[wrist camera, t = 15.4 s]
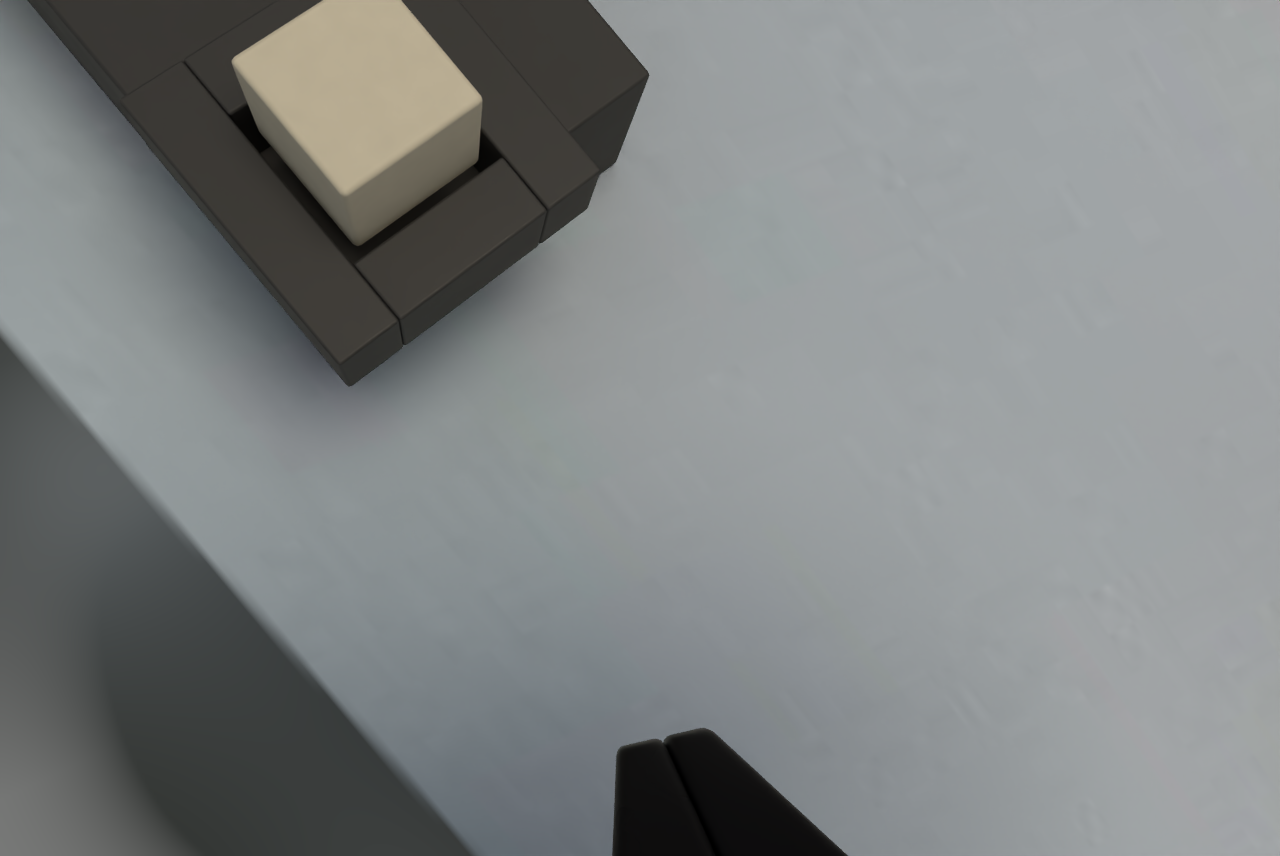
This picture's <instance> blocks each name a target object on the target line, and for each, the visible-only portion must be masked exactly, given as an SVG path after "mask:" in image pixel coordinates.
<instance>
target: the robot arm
mask: <svg viewBox="0 0 1280 856" xmlns="http://www.w3.org/2000/svg"><path fill="white" fill-rule="evenodd" d="M612 856H848V855H847V854H845V853H844V852H843V851H842V850H841V849H840V848H839V847H838V846H837V845H836V844H835V843H833V842H832V841H831V840H830V839H829V838H828V837H827V836H826V835H825V834H824V833H823V832H822V831H820V830H819V829H818V828H817V827H816V826H815V825H814V824H813V823H812V822H811V821H810V820H809V819H807V818H806V817H805V816H804V815H803V814H802V813H801V812H800V811H799V810H798V809H797V808H796V807H794V806H793V805H792V804H791V803H790V802H789V801H788V800H787V799H786V798H785V797H784V796H782V795H781V794H780V793H779V792H778V791H777V790H776V789H775V788H774V787H773V786H772V785H771V784H769V783H768V782H767V781H766V780H765V779H764V778H763V777H762V776H761V775H760V774H759V773H758V772H756V771H755V770H754V769H753V768H752V767H751V766H750V765H749V764H748V763H747V762H746V761H745V760H743V759H742V758H741V757H740V756H739V755H738V754H737V753H736V752H735V751H734V750H733V749H732V748H730V747H729V746H728V745H727V744H726V743H725V742H724V741H723V740H722V739H721V738H720V737H718V736H717V735H716V734H715V733H714V732H713V731H711V730H709V729H706V728H699V729H694V730H690V731H686V732H681V733H677V734H673V735H669V736H667V737H666V738H665V739H664V742H662V741H661V740H658V739H651V740H646V741H642V742H638V743H633V744H629V745H625V746H622V747H620V748H619V749H618V751H617V756H616V778H615V803H614V828H613V853H612Z"/></svg>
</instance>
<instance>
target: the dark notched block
mask: <svg viewBox="0 0 1280 856" xmlns="http://www.w3.org/2000/svg"><path fill="white" fill-rule="evenodd" d="M28 1H29V3H30V4H31V5H32V6H33V7H34V9H35V10H36V11H37V12H38V13H39V15H40V16H41V17H42V18H43V19H44V21H45V22H46V23H47V24H48V25H49V27H50V28H51V29H52V30H53V31H54V33H55V34H56V35H57V36H58V37H59V39H60V40H61V41H62V42H63V43H64V45H65V46H66V47H67V48H68V49H69V51H70V52H71V53H72V54H73V55H74V57H75V58H76V59H77V60H78V61H79V63H80V64H81V65H82V66H83V67H84V69H85V70H86V71H87V72H88V73H89V75H90V76H91V77H92V78H93V79H94V81H95V82H96V83H97V84H98V85H99V87H100V88H101V89H102V90H103V91H104V93H105V94H106V95H107V96H108V97H109V99H110V100H111V101H112V102H113V103H114V105H115V106H116V107H117V108H118V109H119V111H120V112H121V113H122V114H123V115H124V117H125V118H126V119H127V120H128V121H129V123H130V124H131V125H132V126H133V127H134V129H135V130H136V131H137V132H138V133H139V135H140V136H141V137H142V138H143V139H144V141H145V142H146V144H147V145H148V147H149V148H150V149H151V151H152V152H153V153H154V154H155V155H156V157H157V158H158V159H159V160H160V161H161V163H162V164H163V165H164V166H165V167H166V169H167V170H168V171H169V172H170V173H171V175H172V176H173V177H174V178H175V179H176V181H177V182H178V183H179V184H180V185H181V187H182V188H183V189H184V190H185V191H186V193H187V194H188V195H189V196H190V197H191V199H192V200H193V201H194V202H195V203H196V205H197V206H198V207H199V208H200V209H201V211H202V212H203V213H204V214H205V215H206V217H207V218H208V219H209V220H210V221H211V223H212V224H213V225H214V226H215V227H216V229H217V230H218V231H219V232H220V233H221V235H222V236H223V237H224V238H225V239H226V241H227V242H228V243H229V244H230V245H231V247H232V248H233V249H234V250H235V251H236V253H237V254H238V255H239V256H240V257H241V259H242V260H243V261H244V262H245V263H246V265H247V266H248V267H249V268H250V269H251V271H252V272H253V273H254V274H255V275H256V277H257V278H258V279H259V280H260V281H261V283H262V284H263V285H264V286H265V287H266V289H267V290H268V291H269V292H270V293H271V295H272V296H273V297H274V298H275V299H276V301H277V302H278V303H279V304H280V305H281V307H282V308H283V309H284V310H285V311H286V313H287V314H288V315H289V316H290V317H291V319H292V320H293V321H294V322H295V323H296V325H297V326H298V327H299V328H300V329H301V331H302V332H303V333H304V334H305V335H306V337H307V338H308V339H309V340H310V341H311V343H312V344H313V345H314V346H315V347H316V349H317V350H318V351H319V352H320V353H321V355H322V356H323V357H324V358H325V359H326V361H327V362H328V363H329V364H330V366H331V367H332V368H333V369H334V370H335V372H336V373H337V374H338V375H339V376H340V378H341V379H342V380H343V381H344V382H345V384H346V385H347V386H349V387H350V386H352V385H354V384H355V383H356V382H358V381H359V380H360V379H362V378H363V377H364V376H366V375H367V374H368V373H370V372H371V371H372V370H374V369H375V368H376V367H378V366H379V365H380V364H382V363H383V362H384V361H386V360H387V359H388V358H390V357H391V356H392V355H394V354H395V353H396V352H397V351H399V350H400V349H401V348H402V347H403V344H404V345H406V344H408V343H409V342H411V341H412V340H413V339H415V338H416V337H417V336H419V335H420V334H421V333H423V332H424V331H425V330H427V329H428V328H429V327H431V326H432V325H433V324H435V323H436V322H437V321H439V320H440V319H441V318H443V317H444V316H445V315H447V314H448V313H449V312H451V311H452V310H453V309H455V308H456V307H457V306H459V305H460V304H461V303H463V302H464V301H465V300H467V299H468V298H469V297H471V296H472V295H473V294H475V293H476V292H477V291H479V290H480V289H481V288H483V287H484V286H485V285H487V284H488V283H489V282H490V281H492V280H493V279H494V278H496V277H497V276H498V275H500V274H501V273H502V272H504V271H505V270H506V269H508V268H509V267H510V266H512V265H513V264H514V263H516V262H517V261H518V260H520V259H521V258H522V257H524V256H525V255H526V254H528V253H529V252H530V251H532V250H533V249H534V248H536V247H537V246H538V243H542V242H544V241H545V240H546V239H548V238H549V237H550V236H552V235H553V234H554V233H556V232H557V231H558V230H560V229H561V228H562V227H564V226H565V225H566V224H568V223H569V222H570V221H571V220H573V219H574V218H575V217H577V216H578V215H579V214H581V213H582V212H583V211H585V210H586V209H587V208H588V205H589V202H590V199H591V197H592V194H593V191H594V188H595V185H596V183H597V180H598V177H599V174H601V173H602V172H603V171H605V170H606V169H607V168H609V167H610V166H611V165H613V164H614V163H615V162H616V160H617V158H618V155H619V153H620V150H621V147H622V145H623V142H624V140H625V137H626V134H627V132H628V129H629V127H630V124H631V121H632V119H633V116H634V114H635V111H636V109H637V106H638V103H639V101H640V98H641V96H642V93H643V90H644V88H645V85H646V83H647V80H648V77H649V73H648V71H647V70H646V69H645V68H644V67H643V65H642V64H641V63H640V62H639V61H638V59H637V58H636V57H635V56H634V55H633V53H632V52H631V51H630V50H629V49H628V47H627V46H626V45H625V44H624V43H623V41H622V40H621V39H620V38H619V37H618V36H617V34H616V33H615V32H614V31H613V30H612V28H611V27H610V26H609V25H608V24H607V22H606V21H605V20H604V19H603V18H602V16H601V15H600V14H599V13H598V12H597V10H596V9H595V8H594V7H593V6H592V4H591V3H590V2H589V1H588V0H401V1H402V2H403V3H404V4H405V5H406V7H407V8H408V9H409V10H410V11H411V13H412V14H413V15H414V16H415V17H416V19H417V20H418V21H419V22H420V23H421V25H422V26H423V27H424V28H425V29H426V31H427V32H428V33H429V34H430V35H431V37H432V38H433V39H434V40H435V41H436V43H437V44H438V45H439V46H440V47H441V48H442V50H443V51H444V52H445V53H446V54H447V56H448V57H449V58H450V59H451V60H452V62H453V63H454V64H455V65H456V66H457V68H458V69H459V70H460V71H461V72H462V74H463V75H464V76H465V77H466V78H467V80H468V81H469V82H470V83H471V84H472V86H473V87H474V88H475V89H476V90H477V92H478V93H479V94H480V95H481V97H482V100H483V101H482V115H481V129H480V143H479V157H478V161H477V162H476V163H475V164H474V165H472V166H471V167H470V168H468V169H467V170H466V171H464V172H463V173H461V174H460V175H459V176H457V177H456V178H454V179H453V180H452V181H450V182H449V183H447V184H446V185H445V186H443V187H442V188H440V189H439V190H438V191H436V192H435V193H433V194H432V195H431V196H429V197H428V198H426V199H425V200H424V201H422V202H421V203H419V204H418V205H417V206H415V207H414V208H412V209H411V210H410V211H408V212H407V213H405V214H404V215H403V216H401V217H400V218H398V219H397V220H396V221H394V222H393V223H391V224H390V225H389V226H387V227H386V228H384V229H383V230H382V231H380V232H379V233H377V234H376V235H375V236H373V237H372V238H370V239H369V240H368V241H366V242H365V243H363V244H362V245H359V246H356V245H354V244H352V242H351V241H350V240H349V239H348V238H347V236H346V235H345V234H344V233H343V232H342V230H341V229H340V228H339V227H338V226H337V224H336V223H335V222H334V221H333V220H332V218H331V217H330V216H329V215H328V214H327V212H326V211H325V210H324V209H323V208H322V206H321V205H320V204H319V203H318V202H317V200H316V199H315V198H314V197H313V196H312V194H311V193H310V192H309V191H308V190H307V188H306V187H305V186H304V185H303V184H302V182H301V181H300V180H299V179H298V178H297V176H296V175H295V174H294V173H293V172H292V170H291V169H290V168H289V167H288V166H287V164H286V163H285V162H284V161H283V160H282V158H281V157H280V156H279V155H278V154H277V152H276V151H275V150H274V149H273V148H272V146H271V145H270V144H269V143H268V142H267V140H266V139H265V138H264V137H263V136H262V135H261V133H260V132H259V130H258V128H257V125H256V123H255V120H254V118H253V115H252V113H251V110H250V108H249V105H248V103H247V100H246V98H245V95H244V93H243V90H242V88H241V85H240V83H239V81H238V78H237V76H236V73H235V71H234V68H233V65H232V59H233V58H234V57H235V56H236V55H238V54H240V53H241V52H243V51H244V50H246V49H247V48H249V47H251V46H252V45H254V44H255V43H257V42H258V41H260V40H261V39H263V38H265V37H266V36H268V35H269V34H271V33H272V32H274V31H276V30H277V29H279V28H280V27H282V26H283V25H285V24H287V23H288V22H290V21H291V20H293V19H294V18H296V17H297V16H299V15H301V14H302V13H304V12H305V11H307V10H308V9H310V8H312V7H313V6H315V5H316V4H318V3H319V2H321V1H323V0H28Z"/></svg>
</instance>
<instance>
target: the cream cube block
mask: <svg viewBox="0 0 1280 856" xmlns="http://www.w3.org/2000/svg"><path fill="white" fill-rule="evenodd" d="M232 65H233V68H234V71H235V73H236V76H237V78H238V81H239V83H240V85H241V88H242V90H243V93H244V95H245V98H246V100H247V103H248V105H249V108H250V110H251V113H252V115H253V118H254V120H255V123H256V125H257V128H258V130H259V132H260V133H261V135H262V136H263V137H264V138H265V139H266V140H267V142H268V143H269V144H270V145H271V146H272V148H273V149H274V150H275V151H276V152H277V154H278V155H279V156H280V157H281V158H282V160H283V161H284V162H285V163H286V164H287V166H288V167H289V168H290V169H291V170H292V172H293V173H294V174H295V175H296V176H297V178H298V179H299V180H300V181H301V182H302V184H303V185H304V186H305V187H306V188H307V190H308V191H309V192H310V193H311V194H312V196H313V197H314V198H315V199H316V200H317V202H318V203H319V204H320V205H321V206H322V208H323V209H324V210H325V211H326V212H327V214H328V215H329V216H330V217H331V218H332V220H333V221H334V222H335V223H336V224H337V226H338V227H339V228H340V229H341V230H342V232H343V233H344V234H345V235H346V236H347V238H348V239H349V240H350V241H351V242H352V244H354V245H356V246H359V245H362V244H363V243H365V242H366V241H368V240H369V239H370V238H372V237H373V236H375V235H376V234H377V233H379V232H380V231H382V230H383V229H384V228H386V227H387V226H389V225H390V224H391V223H393V222H394V221H396V220H397V219H398V218H400V217H401V216H403V215H404V214H405V213H407V212H408V211H410V210H411V209H412V208H414V207H415V206H417V205H418V204H419V203H421V202H422V201H424V200H425V199H426V198H428V197H429V196H431V195H432V194H433V193H435V192H436V191H438V190H439V189H440V188H442V187H443V186H445V185H446V184H447V183H449V182H450V181H452V180H453V179H454V178H456V177H457V176H459V175H460V174H461V173H463V172H464V171H466V170H467V169H468V168H470V167H471V166H472V165H474V164H475V163H476V162H477V161H478V157H479V143H480V129H481V115H482V101H483V100H482V97H481V95H480V94H479V93H478V92H477V90H476V89H475V88H474V87H473V86H472V84H471V83H470V82H469V81H468V80H467V78H466V77H465V76H464V75H463V74H462V72H461V71H460V70H459V69H458V68H457V66H456V65H455V64H454V63H453V62H452V60H451V59H450V58H449V57H448V56H447V54H446V53H445V52H444V51H443V50H442V48H441V47H440V46H439V45H438V44H437V43H436V41H435V40H434V39H433V38H432V37H431V35H430V34H429V33H428V32H427V31H426V29H425V28H424V27H423V26H422V25H421V23H420V22H419V21H418V20H417V19H416V17H415V16H414V15H413V14H412V13H411V11H410V10H409V9H408V8H407V7H406V5H405V4H404V3H403V2H402V1H401V0H323V1H321V2H319V3H318V4H316V5H315V6H313V7H312V8H310V9H308V10H307V11H305V12H304V13H302V14H301V15H299V16H297V17H296V18H294V19H293V20H291V21H290V22H288V23H287V24H285V25H283V26H282V27H280V28H279V29H277V30H276V31H274V32H272V33H271V34H269V35H268V36H266V37H265V38H263V39H261V40H260V41H258V42H257V43H255V44H254V45H252V46H251V47H249V48H247V49H246V50H244V51H243V52H241V53H240V54H238V55H236V56H235V57H234V58H233V59H232Z"/></svg>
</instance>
